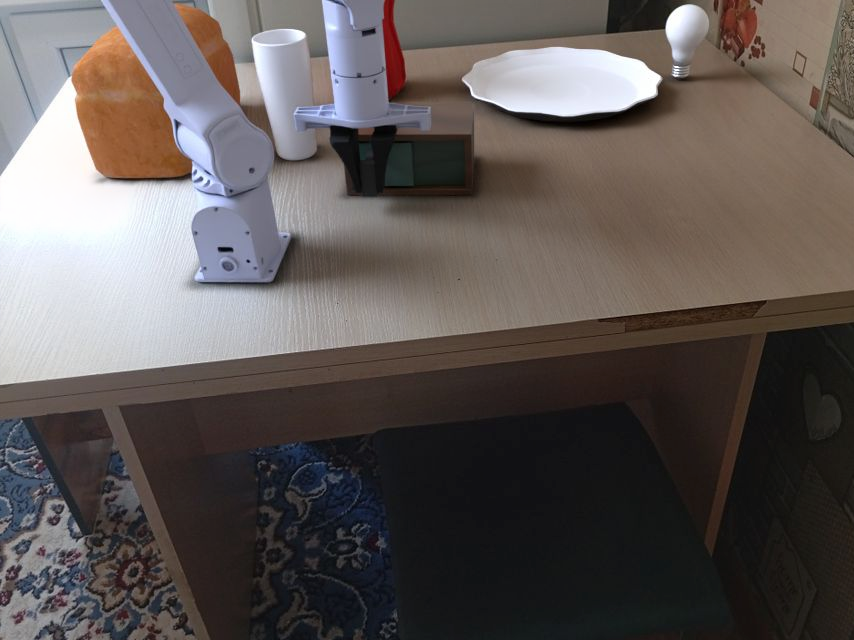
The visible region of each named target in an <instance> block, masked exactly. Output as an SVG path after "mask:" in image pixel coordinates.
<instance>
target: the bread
mask: <svg viewBox="0 0 854 640" xmlns="http://www.w3.org/2000/svg"><path fill="white" fill-rule="evenodd" d="M173 4H174V6H175V8H176V9H177V11H178V13H179V14H180V16H181V18H182V20H183V21H184V23H185V25H186V27H187V28H188V30H189V32H190V34H191V35H192V37H193V39H194V41H195V42H196V44H197V46H198V47H199V49H200V51H201V53H202V54H203V56H204V58H205V60H206V61H207V63H208V65H209V67H210V68H211V70H212V72H213V74H214V75H215V77H216V79H217V80H218V82H219V83H220V84H221V86H222V87H223V88H224V89H225V90H226V91H227V93H228V94H229V95H230V96H231V97H232V98H233V99H234V101H235V102H236V103H237V104H238V105H239V106H240V107H241V89H240V83H239V78H238V74H237V70H236V69H237V68H236V63H235V58H234V54H233V52H232V50H231V48H230V46H229V43H228V42H227V40H226V39H225V38H224V36H223V31H222V27H221V25H220V23H219V21H218V20H216V19H215V18H214V17H213V16H211V15H209V14H208V13H207V12H206V11H203V10H202V9H201V8H197V7H193V6H189V5H186V4H183V3H178V2H176V3H173ZM70 80H71V84H72V86H73V88H74V91H75V93H76V95H75V98H74V103H75V104H74V105H75V110H76V116H77V120H78V124H79V126H80V129H81V132H82V136H83V138H84V142H85V144H86V147H87V150H88V152H89V154H90V155H89V156H90V158H91V160H92V164H93V165H94V168H95V170H96V171H97V172H99V174H101V175H102V176H103V177H106V178H112V179H160V178H176V177H178V178H179V177H184V176H186V175H188V174H192V168H193V164H192V160H191V159H189V158H188V157H186V156H185V155H184V154H183V153H182V152H181V151H180V150H179V148H178V147H177V144H176V142H175V139H174V132H173V125H172V121H171V119H170V117H169V115H168V114H167V112H166V111H165V109H164V98H163V96H162V94H161V93H160V91H159V90H158V88H157V87H156V85H155V84H154V82H153V80H152V79H151V77H150V76H149V74H148V73H147V71H146V70H145V68H144V66H143V65H142V63H141V62H140V60H139V59H138V57H137V56H136V54H135V53H134V51H133V49H132V48H131V46H130V45H129V43H128V42H127V40H126V39H125V37H124V36H123V34H122V32H121V31H120V29H119V28H118V26H117V25H115V26H114V27H113V28H111V29H110V30H109V31H107V32H106V33H104V34H103V35H102V36H100V37H98V39H97V40H96V41H95V43H94V44H93V45H92V46H91V47H90V48H89V49H88V51H86V53H84V55H83V56H82V57H81V58H80V59H79V60H78V61H77V63H75V64H74V66H73V69H72V74H71V79H70ZM193 161H194V160H193Z"/></svg>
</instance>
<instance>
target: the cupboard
mask: <svg viewBox="0 0 854 640" xmlns="http://www.w3.org/2000/svg"><path fill="white" fill-rule="evenodd" d="M395 103H396V104H403V105H411V106H421V107H431V128H430V131H421V130H420V128H398V129H397V133H396V137H395V140H394V141H412V154H413V170H414V186H385V187H384V191H383V193H379V194H378V196H472V195H473V191H474V190H473V188H474V173H475V102H474V101H467V102H466V101H462V102H461V101H460V102H459V101H455V102H453V101H451V102H442V101H441V102H440V101H439V102H437V101H436V102H395ZM358 131H359V141H371V137H372V134H373V132H374V128H358ZM343 170H344V178H345V179H344V180H345V184H346V186H345V187H346V193H347V194H346V195H347V196H362V192H361V193H355V189H354V186H353V183H352V180H351V178H350V175H349V173H348V171H347V169H346V167H345V165H344V164H343Z"/></svg>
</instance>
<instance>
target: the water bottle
mask: <svg viewBox="0 0 854 640" xmlns="http://www.w3.org/2000/svg"><path fill="white" fill-rule="evenodd" d="M395 1H396V0H385V1H384V6H383V12H384V19H382V25H383V38H384V50H385V63H386V76H387V89H388V100H391V99H392V98H393V97H396V96H397V95H398V93H399V92H400V91H402V90H403V89H404V88H405V84H406V79H407V73H406V72H407V71H406V64H405V56H404V54H403V50H402V47H401V42H400V39H399V35H398V32H397V28H396V25H395V18H394V17H395V15H394V13H395V12H394V8H395V3H396V2H395Z"/></svg>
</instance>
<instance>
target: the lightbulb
mask: <svg viewBox="0 0 854 640" xmlns="http://www.w3.org/2000/svg"><path fill="white" fill-rule="evenodd" d="M709 20H710V19H709V16H708V14H707V13H706V11H705V10H704V9H703V8H702V7H701V6H698V5H696V4H690V3H689V4H683V5H680V6H678V7H677V8H675V9H674V10H673V11H672V12H671V13H670V14H669V16H668V18H667V19H666V23H665V36H666V39H667V41H668V43H669V45H670V47H671V57H672V67H671V76H672V77H673V78H674V79H676V80H678V81H680V80H683V79H686V78H687V77H689V76H690V68H691V63H692V60H693V59H694V56H695V55H696V50H697V49H698V48H699V46H701V44H702V43H703V42H704V41H705V39H706V38H707V36H708V33H709V29H710V21H709Z"/></svg>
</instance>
